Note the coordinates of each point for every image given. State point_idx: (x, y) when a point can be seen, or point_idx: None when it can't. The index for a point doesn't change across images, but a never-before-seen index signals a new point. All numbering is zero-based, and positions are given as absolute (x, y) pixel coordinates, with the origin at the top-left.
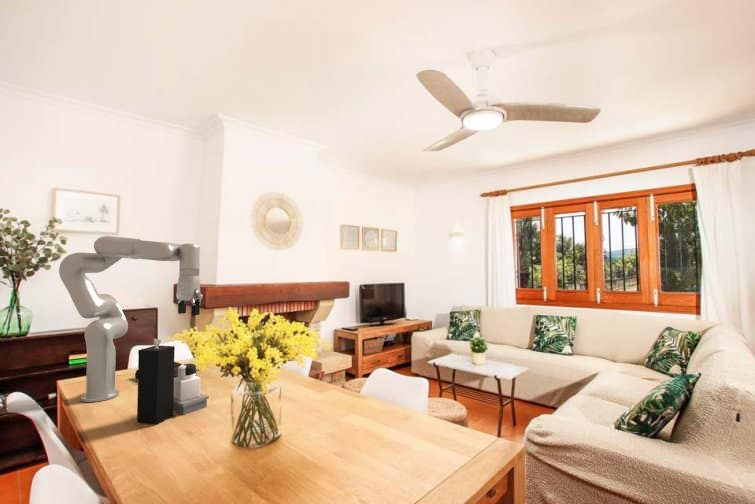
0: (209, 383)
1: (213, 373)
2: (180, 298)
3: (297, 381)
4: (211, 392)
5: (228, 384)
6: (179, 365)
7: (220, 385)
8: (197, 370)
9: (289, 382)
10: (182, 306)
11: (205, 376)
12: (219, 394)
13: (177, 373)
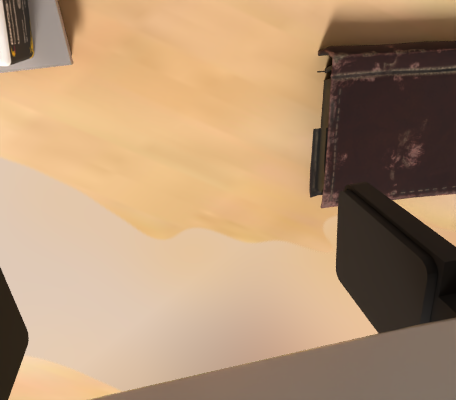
0: (226, 195)
1: (322, 249)
2: (353, 383)
3: (15, 385)
4: (117, 157)
5: (161, 233)
6: (440, 182)
7: (172, 211)
8: (322, 201)
9: (24, 366)
10: (396, 294)
11: (314, 218)
12: (71, 166)
13: (351, 133)
